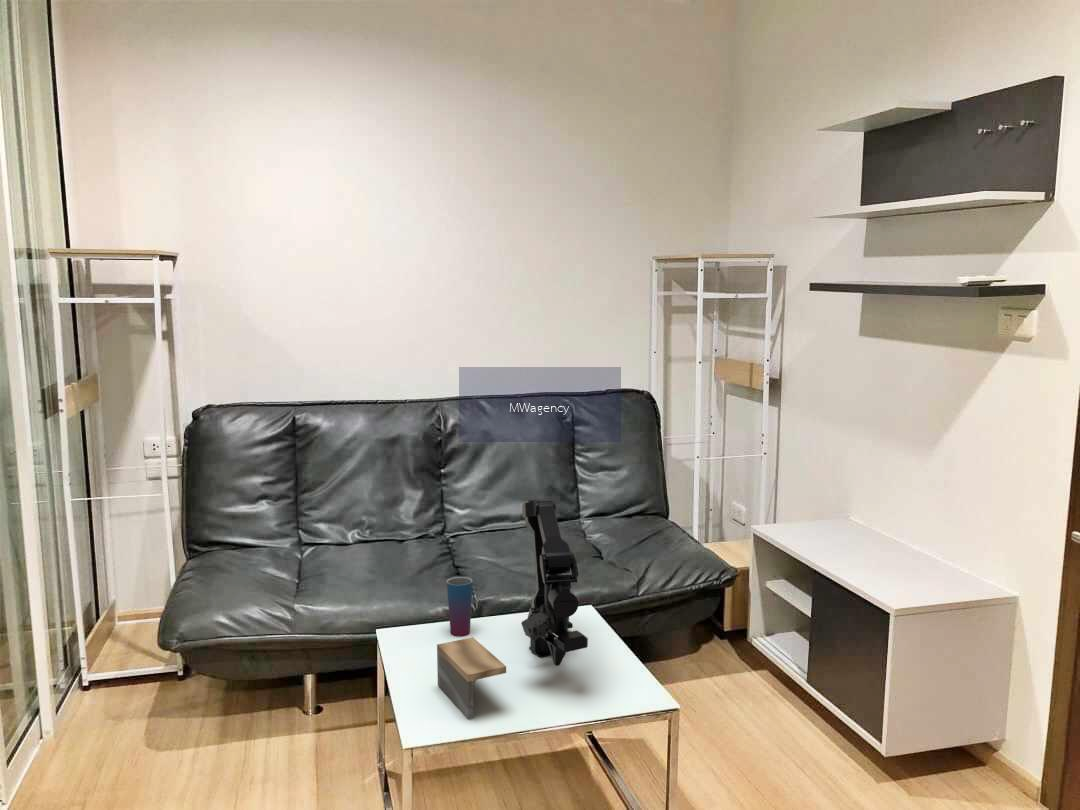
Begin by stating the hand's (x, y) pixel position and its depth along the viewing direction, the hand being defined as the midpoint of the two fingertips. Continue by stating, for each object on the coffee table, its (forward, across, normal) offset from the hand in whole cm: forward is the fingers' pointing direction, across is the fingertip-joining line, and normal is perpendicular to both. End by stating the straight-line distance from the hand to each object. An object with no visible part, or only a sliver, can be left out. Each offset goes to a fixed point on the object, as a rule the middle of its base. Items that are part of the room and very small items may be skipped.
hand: (556, 665), depth 201 cm
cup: (+3, -34, -10) cm, 36 cm away
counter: (+3, 0, -22) cm, 22 cm away
